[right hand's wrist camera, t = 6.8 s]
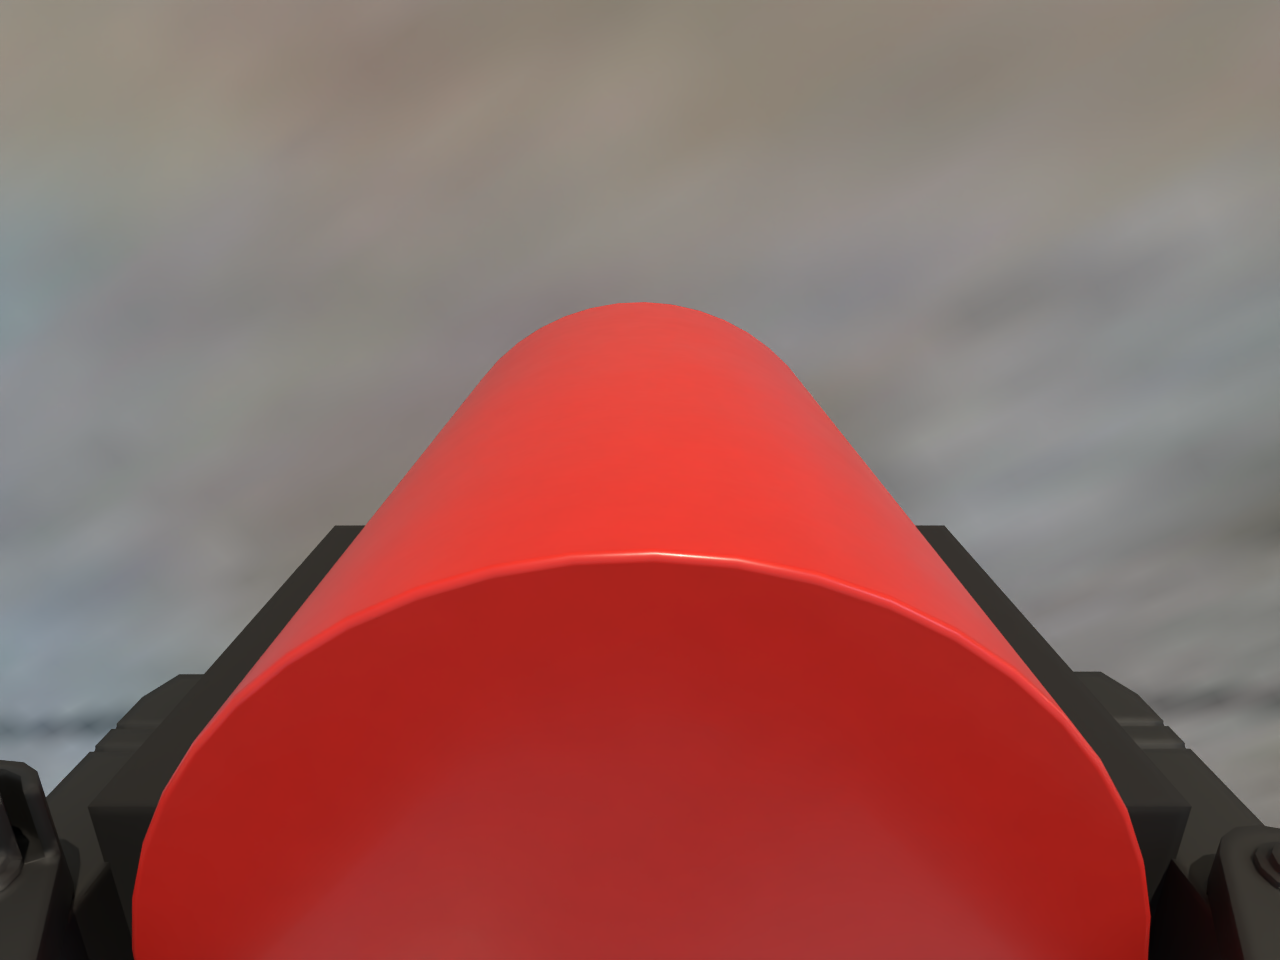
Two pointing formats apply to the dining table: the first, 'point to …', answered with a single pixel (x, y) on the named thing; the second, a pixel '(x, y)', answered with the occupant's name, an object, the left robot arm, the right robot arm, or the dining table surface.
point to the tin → (640, 705)
